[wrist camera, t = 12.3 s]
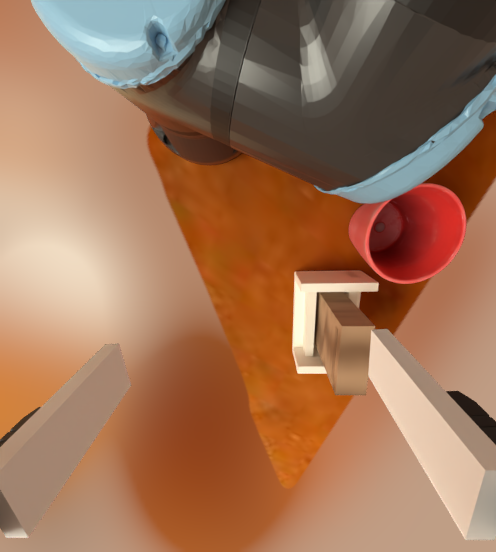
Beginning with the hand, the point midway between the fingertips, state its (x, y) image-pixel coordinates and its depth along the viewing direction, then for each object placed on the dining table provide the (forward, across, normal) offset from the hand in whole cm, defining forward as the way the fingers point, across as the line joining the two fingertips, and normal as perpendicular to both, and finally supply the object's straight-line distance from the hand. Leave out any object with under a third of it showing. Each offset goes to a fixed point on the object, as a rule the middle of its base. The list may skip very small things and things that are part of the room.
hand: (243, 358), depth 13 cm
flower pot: (+27, +18, +2) cm, 32 cm away
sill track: (+26, +10, -11) cm, 30 cm away
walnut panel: (+25, +10, -11) cm, 29 cm away
